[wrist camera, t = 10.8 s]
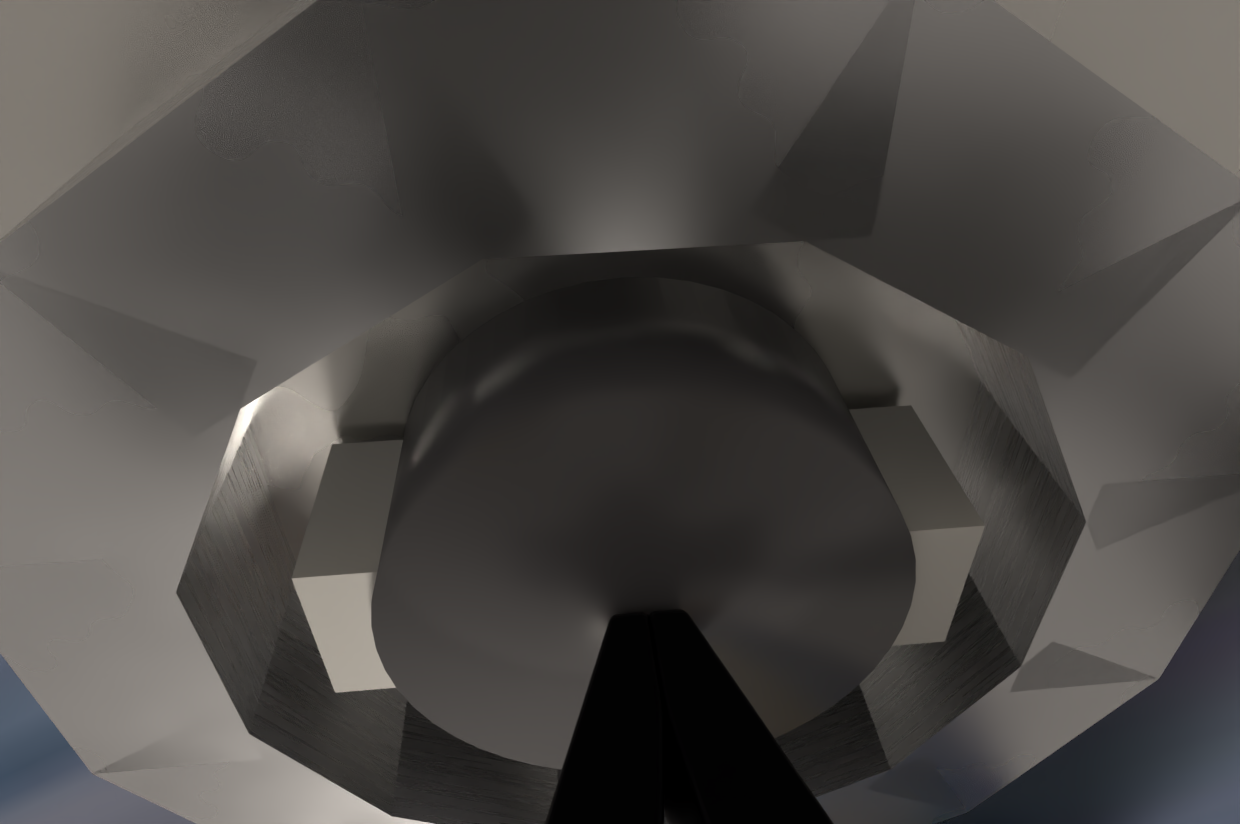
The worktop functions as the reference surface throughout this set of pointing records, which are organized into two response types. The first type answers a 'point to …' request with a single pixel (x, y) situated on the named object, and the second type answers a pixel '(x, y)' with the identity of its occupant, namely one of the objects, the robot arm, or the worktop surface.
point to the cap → (629, 517)
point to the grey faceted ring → (589, 251)
